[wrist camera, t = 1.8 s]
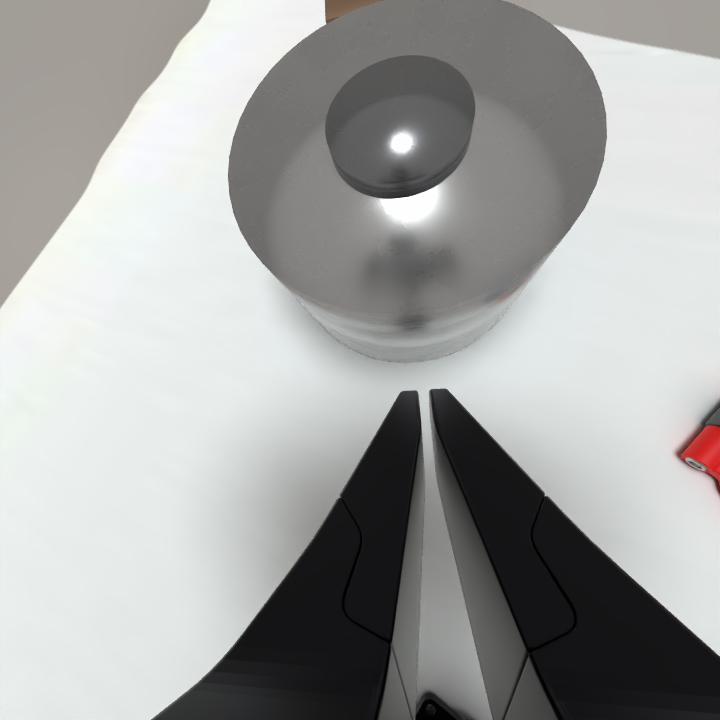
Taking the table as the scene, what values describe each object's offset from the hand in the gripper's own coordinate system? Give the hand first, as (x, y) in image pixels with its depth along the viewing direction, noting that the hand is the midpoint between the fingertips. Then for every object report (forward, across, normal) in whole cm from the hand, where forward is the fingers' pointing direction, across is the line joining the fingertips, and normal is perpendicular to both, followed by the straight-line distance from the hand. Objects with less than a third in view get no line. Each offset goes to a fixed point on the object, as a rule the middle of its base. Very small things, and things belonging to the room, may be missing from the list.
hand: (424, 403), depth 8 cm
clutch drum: (+18, 0, +1) cm, 18 cm away
